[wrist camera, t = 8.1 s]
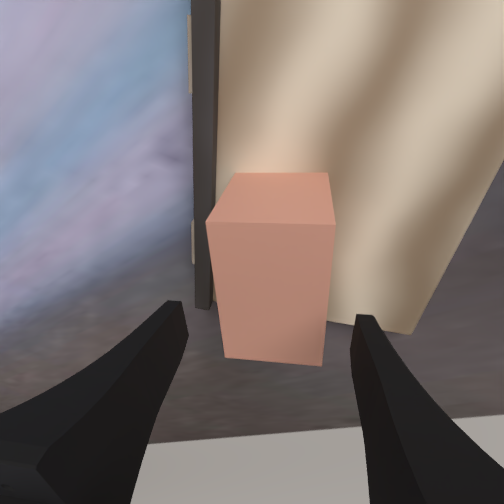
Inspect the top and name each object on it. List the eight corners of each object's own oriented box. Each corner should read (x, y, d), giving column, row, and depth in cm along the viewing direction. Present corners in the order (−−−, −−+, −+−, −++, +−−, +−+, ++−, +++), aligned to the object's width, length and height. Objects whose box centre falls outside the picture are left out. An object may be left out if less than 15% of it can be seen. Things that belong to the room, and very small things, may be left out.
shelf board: (591, -56, 12) (650, -78, 10) (405, 319, 23) (414, 346, 21) (201, -85, 13) (180, -110, 11) (201, 285, 24) (191, 307, 22)
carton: (327, 172, 17) (335, 224, 12) (318, 290, 21) (321, 366, 16) (231, 172, 17) (200, 221, 12) (241, 286, 22) (221, 357, 17)
